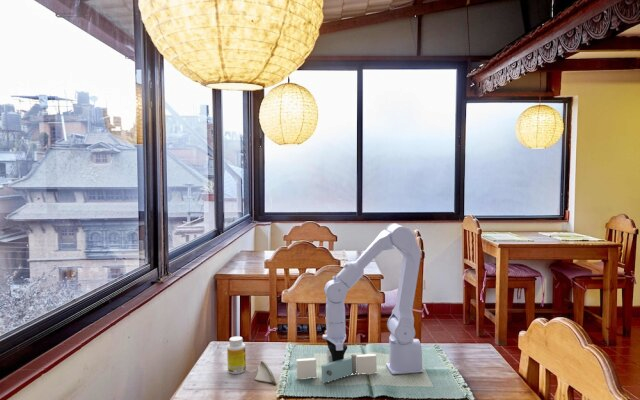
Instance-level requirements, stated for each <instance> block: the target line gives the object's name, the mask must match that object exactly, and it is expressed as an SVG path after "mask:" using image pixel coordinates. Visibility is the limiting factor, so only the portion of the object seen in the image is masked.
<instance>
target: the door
mask: <svg viewBox="0 0 640 400" xmlns="http://www.w3.org/2000/svg"><path fill="white" fill-rule="evenodd" d="M351 374H352V358H351V357H350V356H348V357H344V359H341V360H337V361H334V362H330V363H324V364H321V382H322V383H323V382H324V383H323V384H326V383H325V382H328V381H331V382H333V381H332V380H334V381H336V380H335V379H337V380H339V379H338V378H341V377H344V376H347V375H350V376H352V375H351ZM347 377H348V376H347ZM344 378H345V377H344ZM341 379H342V378H341ZM328 383H329V382H328Z"/></svg>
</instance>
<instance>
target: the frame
mask: <svg viewBox="0 0 640 400" xmlns="http://www.w3.org/2000/svg"><path fill="white" fill-rule="evenodd" d="M350 356H351V357H350V358H352V373H353V374H355V373H356V375H357V374H358V373H359V374H362V373H375V372H377V355H376V353H366V354H355V353H354V354H351V355H350ZM356 371H357V372H356ZM377 373H378V372H377ZM308 377H316V378H317V360H316V357H308V358H296V380H297V379H299V380H302V379H301V378H308Z"/></svg>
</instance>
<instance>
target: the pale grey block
mask: <svg viewBox="0 0 640 400" xmlns="http://www.w3.org/2000/svg"><path fill="white" fill-rule="evenodd" d="M326 355H327V357H326V358H327V359H326V360H327V361H326V362H327V363H330V362H333V360H332V355H331V352H330V350H329V349H328V350H326ZM343 359H345V356H344V357H343ZM327 363H326V364H327Z"/></svg>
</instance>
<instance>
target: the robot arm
mask: <svg viewBox="0 0 640 400" xmlns="http://www.w3.org/2000/svg"><path fill="white" fill-rule="evenodd" d="M394 247H395V248H396V249H397V250H398V252H399V253H401V255H402V262H401V267H400V273H399V274H400V275H399V280H398V286H397V287H398V288H397V292H396V299H395V306H394V307H393V309H392V311H391V315H390V316H389V318H388V319H387V323H386V326H387V329H388V331H389V332H390V335H389V337H388V347H389V348H388V349H389V351H388V354H389V357H388V359H389V362H385V366H387V368H388V370H389V372H390V374H392V375H402V374H413V373H414V374H415V373H423V371H424V370H423V352H422V351H423V350H422V345H421V341H420V339H419V338H415V337H416V329H415V327H414V325H415V317H414V314H413V313H414V312H413V308H414V302H415V296H416V289H417V285H418V284H417V282H418V276H419V270H420V264H421V258H422V251H421V249H420V246H419V243H418V242H417V237H416V234H415V233H413V231H412V230H411V229H410V228H409V227H407V226H405V225H404V226H403V225H400V224H399V223H395V222H394V223H390V224H388V225H387V226H386V228H385V229H383V230H382V231H380V232H379V234H378V235H377V236H376V238H374V240H373V241H372V242H371V243H370V244H369V246H367V248H366V249H365V250H364V251H363V252H362V253H361V255H359V257H358V258H357V259H356V260H354V261H349V262H348V263H346V262H345V263H344V264H343V265H342V267H343V268H342V269H341V270H340V271H339V272H338V273H337V274H336V275H333V276H332V279H330V280H329V281H327V282H326V283H325V285H324V288H323V293H324V294H325V296H326V297H325V298H326V299H325V303H326V304H325V321H326V322H325V324H326V325H325V328H326V332H325V334H322V339H323V340H325V342H326V344H327V349H328V350H330V352H331V355H332V360H333V362H334V361H337V360H341V359H343V357H344V358H345V354H346V351H347V349H348V345H347V344H345V341H346V340H347V334H346V307H345V299H346V297H347V293H348V291H350V290H351V289H352V288H353V287H354V286H355V285H356V284H357V283H358V281H359V280H360V279H361V278H362V277H363V276H364V271H365V269H366V267H367V266H368V265H369V264H371V263H372V262H373V261H374V260H375V258H377V257H378V256H379V255H380V254H382V252H383V251H389V250H394V249H395V248H394Z"/></svg>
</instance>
